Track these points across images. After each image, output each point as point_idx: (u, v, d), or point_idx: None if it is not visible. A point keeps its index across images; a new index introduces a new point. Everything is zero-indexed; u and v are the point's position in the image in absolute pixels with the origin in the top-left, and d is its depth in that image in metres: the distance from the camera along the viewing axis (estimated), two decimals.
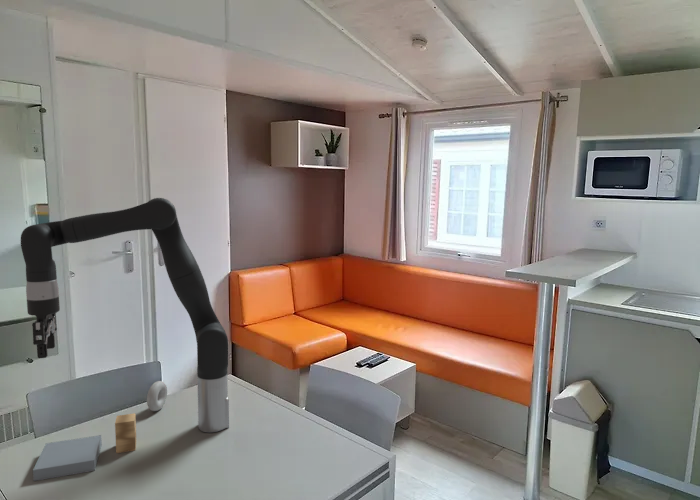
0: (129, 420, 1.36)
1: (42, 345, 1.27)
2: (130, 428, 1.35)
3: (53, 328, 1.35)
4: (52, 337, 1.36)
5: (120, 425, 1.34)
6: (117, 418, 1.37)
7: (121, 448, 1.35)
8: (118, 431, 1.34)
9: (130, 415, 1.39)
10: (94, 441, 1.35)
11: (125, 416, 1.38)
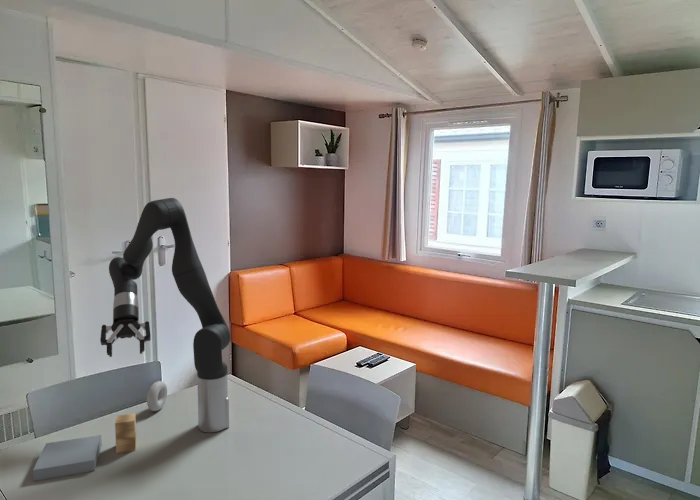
0: (129, 420, 1.36)
1: (106, 344, 1.45)
2: (130, 428, 1.35)
3: (135, 333, 1.49)
4: None
5: (120, 425, 1.34)
6: (117, 418, 1.37)
7: (121, 448, 1.35)
8: (118, 431, 1.34)
9: (130, 415, 1.39)
10: (94, 441, 1.35)
11: (125, 416, 1.38)
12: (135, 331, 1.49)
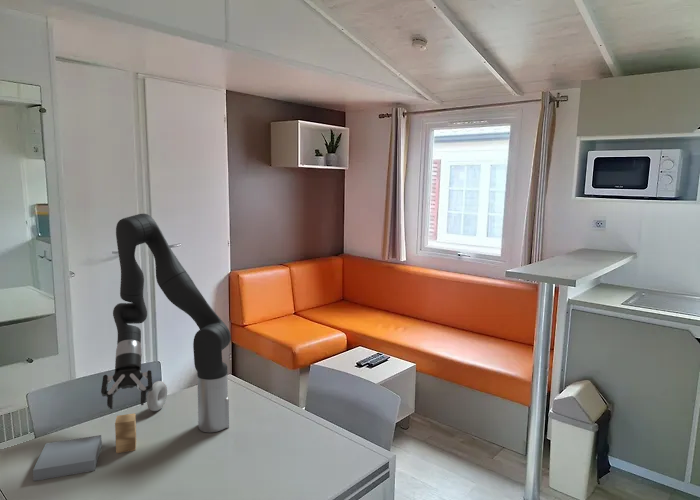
0: (129, 420, 1.36)
1: (107, 396, 1.42)
2: (130, 428, 1.35)
3: (136, 383, 1.46)
4: None
5: (120, 425, 1.34)
6: (117, 418, 1.37)
7: (121, 448, 1.35)
8: (118, 431, 1.34)
9: (130, 415, 1.39)
10: (94, 441, 1.35)
11: (125, 416, 1.38)
12: (137, 381, 1.46)
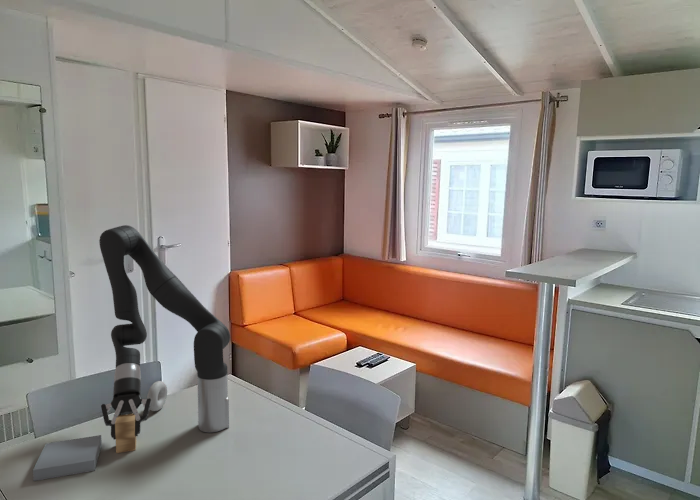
0: (129, 420, 1.36)
1: (110, 425, 1.36)
2: (130, 428, 1.35)
3: (132, 411, 1.39)
4: None
5: (120, 425, 1.34)
6: (117, 417, 1.37)
7: (121, 448, 1.35)
8: (118, 431, 1.34)
9: (129, 414, 1.39)
10: (94, 441, 1.35)
11: (125, 415, 1.38)
12: (133, 409, 1.39)
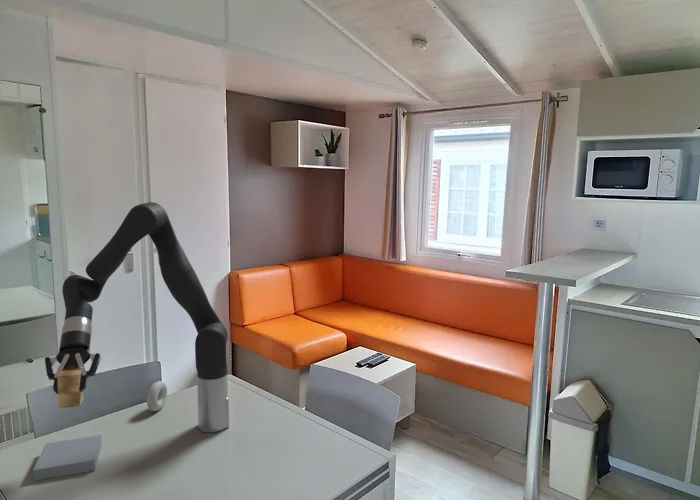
0: (73, 374, 1.27)
1: (53, 379, 1.28)
2: (74, 382, 1.27)
3: (78, 365, 1.31)
4: (80, 378, 1.29)
5: (62, 378, 1.26)
6: (61, 371, 1.28)
7: (64, 403, 1.27)
8: (61, 384, 1.26)
9: (75, 369, 1.30)
10: (94, 441, 1.35)
11: (71, 370, 1.30)
12: (79, 363, 1.31)
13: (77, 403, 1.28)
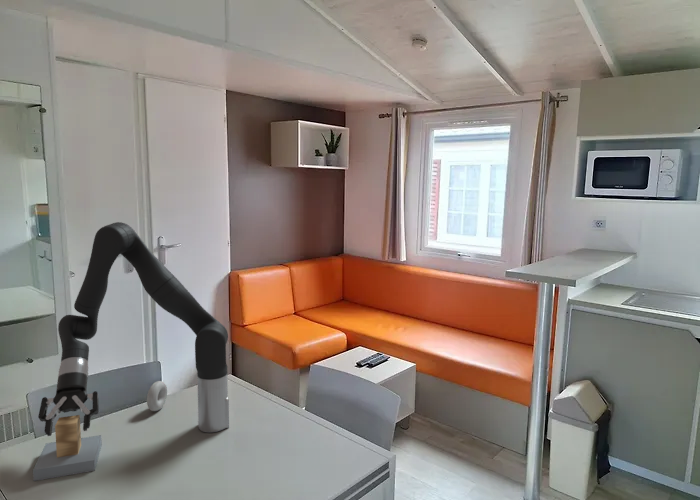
0: (71, 422, 1.28)
1: (45, 421, 1.28)
2: (72, 431, 1.27)
3: (79, 407, 1.31)
4: (84, 417, 1.31)
5: (60, 427, 1.26)
6: (59, 419, 1.29)
7: (62, 452, 1.27)
8: (59, 434, 1.26)
9: (73, 416, 1.31)
10: (94, 441, 1.35)
11: (68, 417, 1.30)
12: (80, 404, 1.32)
13: (75, 451, 1.28)
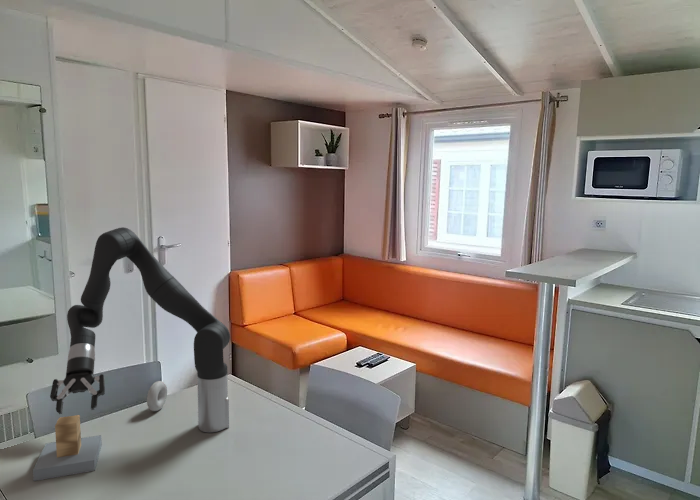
0: (71, 422, 1.28)
1: (56, 400, 1.40)
2: (72, 431, 1.27)
3: (87, 388, 1.43)
4: None
5: (60, 427, 1.26)
6: (59, 419, 1.29)
7: (62, 452, 1.27)
8: (59, 434, 1.26)
9: (73, 416, 1.31)
10: (94, 441, 1.35)
11: (68, 417, 1.30)
12: (88, 386, 1.44)
13: (75, 451, 1.28)
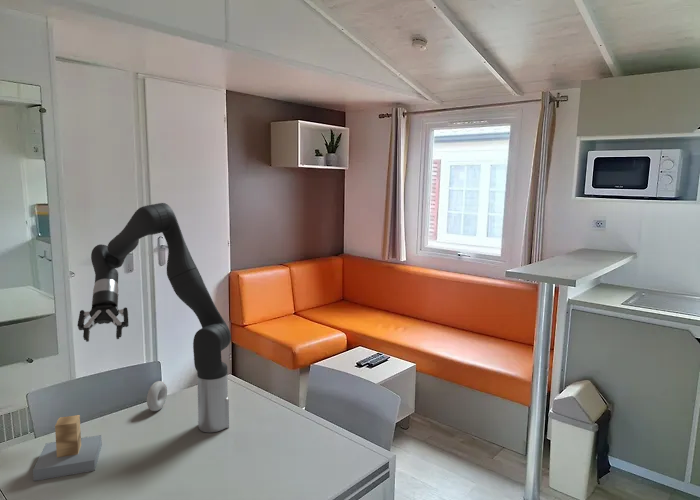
0: (71, 422, 1.28)
1: (83, 329, 1.47)
2: (72, 431, 1.27)
3: (112, 319, 1.50)
4: None
5: (60, 427, 1.26)
6: (59, 419, 1.29)
7: (62, 452, 1.27)
8: (59, 434, 1.26)
9: (73, 416, 1.31)
10: (94, 441, 1.35)
11: (68, 417, 1.30)
12: (112, 317, 1.50)
13: (75, 451, 1.28)
